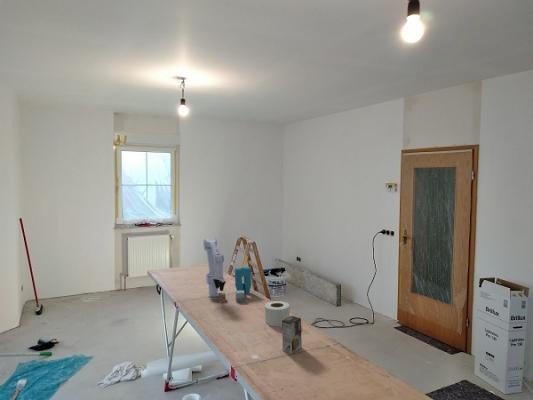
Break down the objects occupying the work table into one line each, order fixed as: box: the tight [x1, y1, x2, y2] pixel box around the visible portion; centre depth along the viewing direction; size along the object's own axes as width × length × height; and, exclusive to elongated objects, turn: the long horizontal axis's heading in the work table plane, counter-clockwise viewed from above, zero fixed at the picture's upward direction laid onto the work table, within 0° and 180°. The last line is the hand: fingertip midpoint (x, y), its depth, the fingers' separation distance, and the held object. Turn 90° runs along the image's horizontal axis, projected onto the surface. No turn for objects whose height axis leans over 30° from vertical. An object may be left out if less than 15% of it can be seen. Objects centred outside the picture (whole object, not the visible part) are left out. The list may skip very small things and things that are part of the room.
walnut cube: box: [218, 292, 227, 303], centre depth 288 cm, size 5×5×5 cm
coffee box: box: [281, 315, 303, 354], centre depth 203 cm, size 9×6×16 cm
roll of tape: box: [264, 300, 291, 327], centre depth 243 cm, size 16×15×11 cm
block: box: [234, 266, 252, 295], centre depth 304 cm, size 12×5×20 cm, turn 114°
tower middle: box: [235, 290, 246, 299], centre depth 286 cm, size 6×6×4 cm
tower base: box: [235, 297, 245, 303], centre depth 286 cm, size 6×6×4 cm
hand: (219, 289), depth 283 cm, fingers open, 7 cm apart
